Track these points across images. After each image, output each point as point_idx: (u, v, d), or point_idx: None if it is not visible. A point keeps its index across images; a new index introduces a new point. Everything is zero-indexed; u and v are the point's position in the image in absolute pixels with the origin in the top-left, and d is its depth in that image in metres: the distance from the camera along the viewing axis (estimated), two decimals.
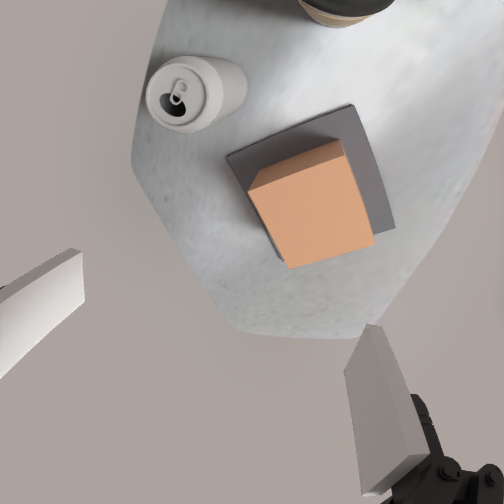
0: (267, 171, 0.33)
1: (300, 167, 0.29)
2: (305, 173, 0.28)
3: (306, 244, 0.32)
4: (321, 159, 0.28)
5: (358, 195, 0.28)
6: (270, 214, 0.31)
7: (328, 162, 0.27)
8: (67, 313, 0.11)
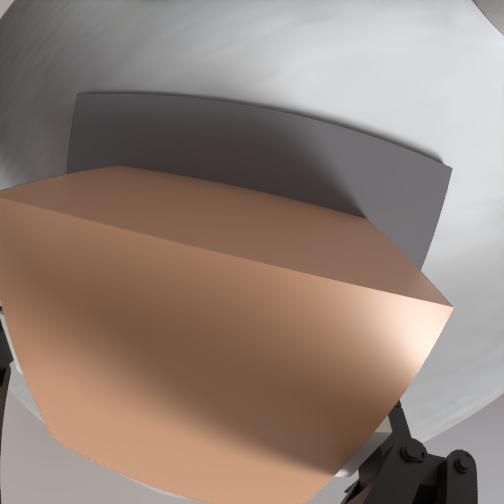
0: (119, 175, 0.09)
1: (214, 227, 0.06)
2: (217, 276, 0.05)
3: (106, 445, 0.08)
4: (329, 253, 0.06)
5: (356, 448, 0.06)
6: (22, 318, 0.06)
7: (372, 297, 0.05)
8: None
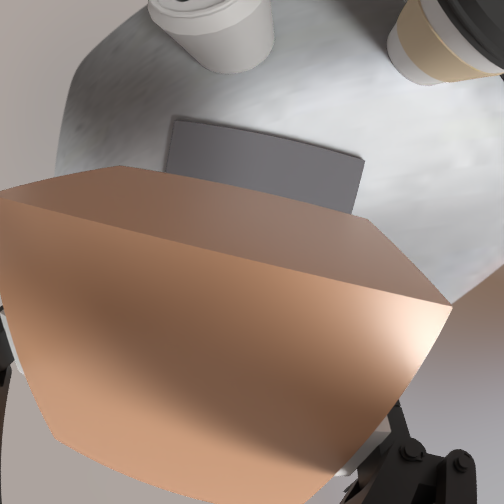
0: (120, 175, 0.09)
1: (215, 227, 0.06)
2: (219, 276, 0.05)
3: (107, 444, 0.08)
4: (329, 253, 0.06)
5: (356, 446, 0.06)
6: (24, 318, 0.06)
7: (372, 297, 0.05)
8: None
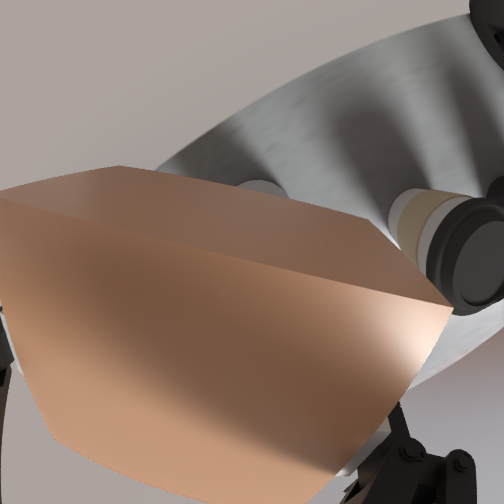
0: (120, 175, 0.09)
1: (215, 228, 0.06)
2: (218, 277, 0.05)
3: (107, 445, 0.08)
4: (330, 254, 0.06)
5: (356, 448, 0.06)
6: (23, 319, 0.06)
7: (372, 298, 0.05)
8: None
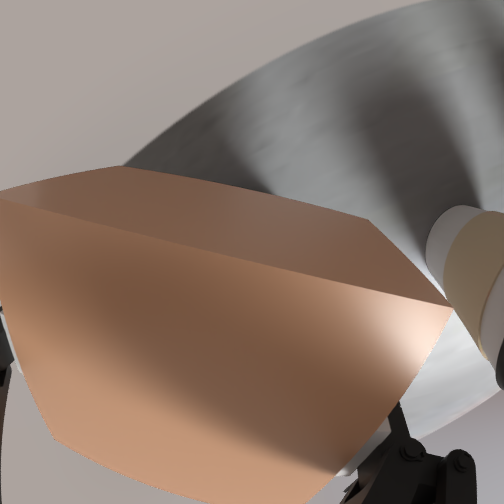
0: (120, 175, 0.09)
1: (214, 228, 0.06)
2: (218, 278, 0.05)
3: (106, 445, 0.08)
4: (329, 254, 0.06)
5: (356, 448, 0.06)
6: (23, 319, 0.06)
7: (372, 298, 0.05)
8: None
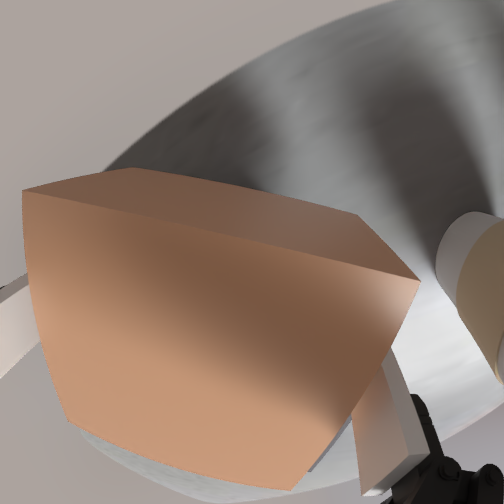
0: (136, 176, 0.11)
1: (224, 218, 0.07)
2: (229, 254, 0.06)
3: (121, 421, 0.09)
4: (317, 239, 0.07)
5: (346, 412, 0.07)
6: (51, 300, 0.07)
7: (350, 271, 0.06)
8: None
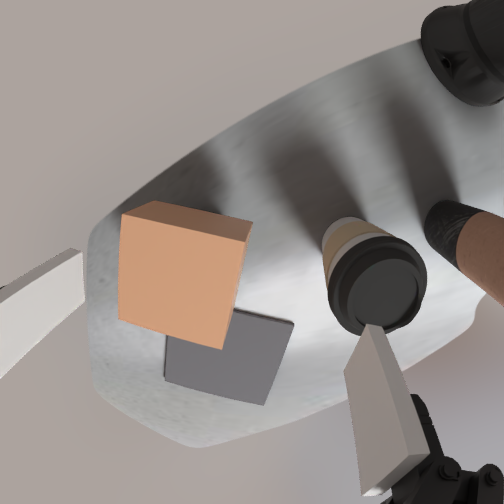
0: (158, 206, 0.27)
1: (190, 225, 0.24)
2: (190, 234, 0.23)
3: (148, 307, 0.25)
4: (218, 230, 0.24)
5: (232, 292, 0.24)
6: (129, 253, 0.24)
7: (222, 239, 0.23)
8: (67, 313, 0.11)
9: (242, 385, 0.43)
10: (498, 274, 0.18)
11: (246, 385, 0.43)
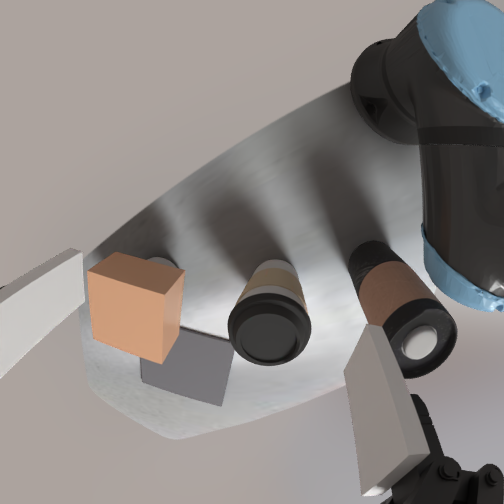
0: (116, 259, 0.36)
1: (132, 279, 0.32)
2: (130, 287, 0.31)
3: (111, 332, 0.34)
4: (150, 284, 0.32)
5: (162, 326, 0.32)
6: (95, 296, 0.32)
7: (150, 291, 0.31)
8: (67, 313, 0.11)
9: (201, 388, 0.51)
10: None
11: (204, 389, 0.51)
